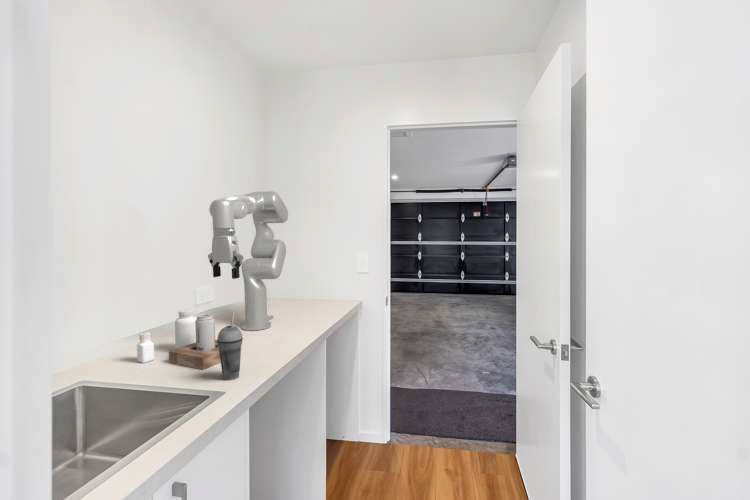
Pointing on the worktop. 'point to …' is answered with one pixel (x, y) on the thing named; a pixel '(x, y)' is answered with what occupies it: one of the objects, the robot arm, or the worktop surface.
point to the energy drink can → (205, 332)
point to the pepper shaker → (145, 348)
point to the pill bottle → (185, 328)
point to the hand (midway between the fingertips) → (226, 277)
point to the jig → (195, 356)
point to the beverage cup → (230, 350)
